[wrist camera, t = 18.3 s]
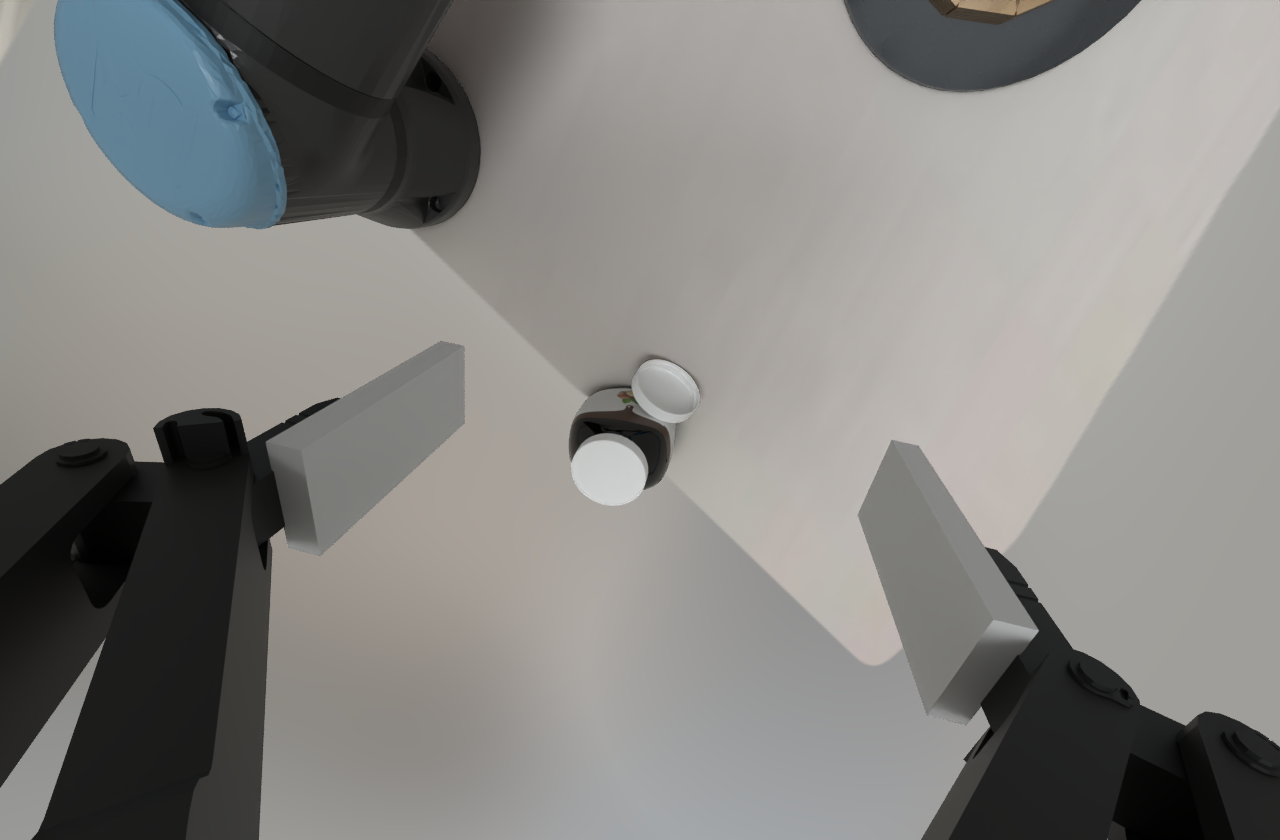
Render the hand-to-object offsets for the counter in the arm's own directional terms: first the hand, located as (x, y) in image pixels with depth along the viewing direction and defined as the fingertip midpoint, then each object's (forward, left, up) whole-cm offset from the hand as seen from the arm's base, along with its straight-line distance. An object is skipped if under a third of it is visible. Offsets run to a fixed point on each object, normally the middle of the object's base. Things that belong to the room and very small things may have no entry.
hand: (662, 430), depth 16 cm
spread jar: (-4, -16, -35) cm, 39 cm away
